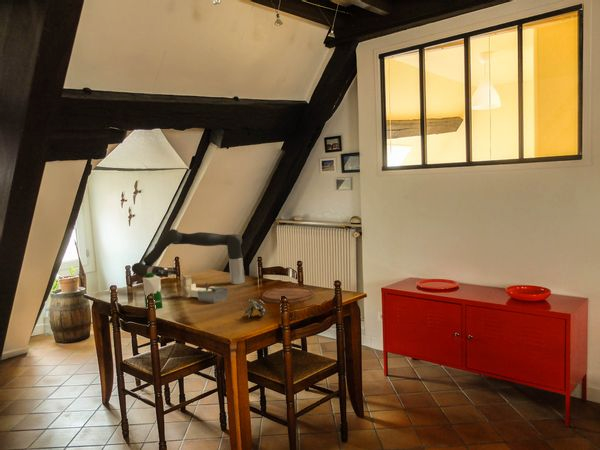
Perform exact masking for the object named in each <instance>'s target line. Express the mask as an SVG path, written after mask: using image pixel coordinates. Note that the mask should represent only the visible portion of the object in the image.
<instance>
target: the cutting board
mask: <svg viewBox="0 0 600 450" xmlns="http://www.w3.org/2000/svg"><path fill="white" fill-rule="evenodd" d="M281 296H285V297H286V298H287V300H288V302H289V303H288V304H297V303H301V302H306V301H309V300H311V299H313V298H314V297H316V293H315V291H313V289H311V288H309V287H304V286H285V287H275V288H272V289H268V290H266V291H264V292H263V294H262V295H261V299H260V300H261V301H263V302H266V303H271V304H279V302H280V297H281Z"/></svg>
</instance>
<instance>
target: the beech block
mask: <svg viewBox="0 0 600 450" xmlns="http://www.w3.org/2000/svg"><path fill="white" fill-rule="evenodd" d="M179 277H180V289H181V296H182V298H190V297H191V296H190V285H191V284H193V283H192V282H193V281H192V275H190V274H184V275H180V276H179Z"/></svg>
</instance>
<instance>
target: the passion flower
mask: <svg viewBox="0 0 600 450" xmlns="http://www.w3.org/2000/svg"><path fill="white" fill-rule="evenodd" d="M258 301H260V303H258V302H257V301H255V300H253V299H249V300H248V303H249V304H250V306H249V307H248V308H246V309H245V308H244V307H243V306H241V309H240V310H241V311H243V310H244V314H243V316H244V317H245V315H246V314H248V317H247V319H249V318H250V316H252V314H253V313H254V311H256V310H257V312H260V315H261V317H265V315H264V314H266V309H265V308H264V307H263V306H262V305H266V304H265V303H264V302H265V301H263V300H262V299H259V300H258ZM261 304H262V305H261Z"/></svg>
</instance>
